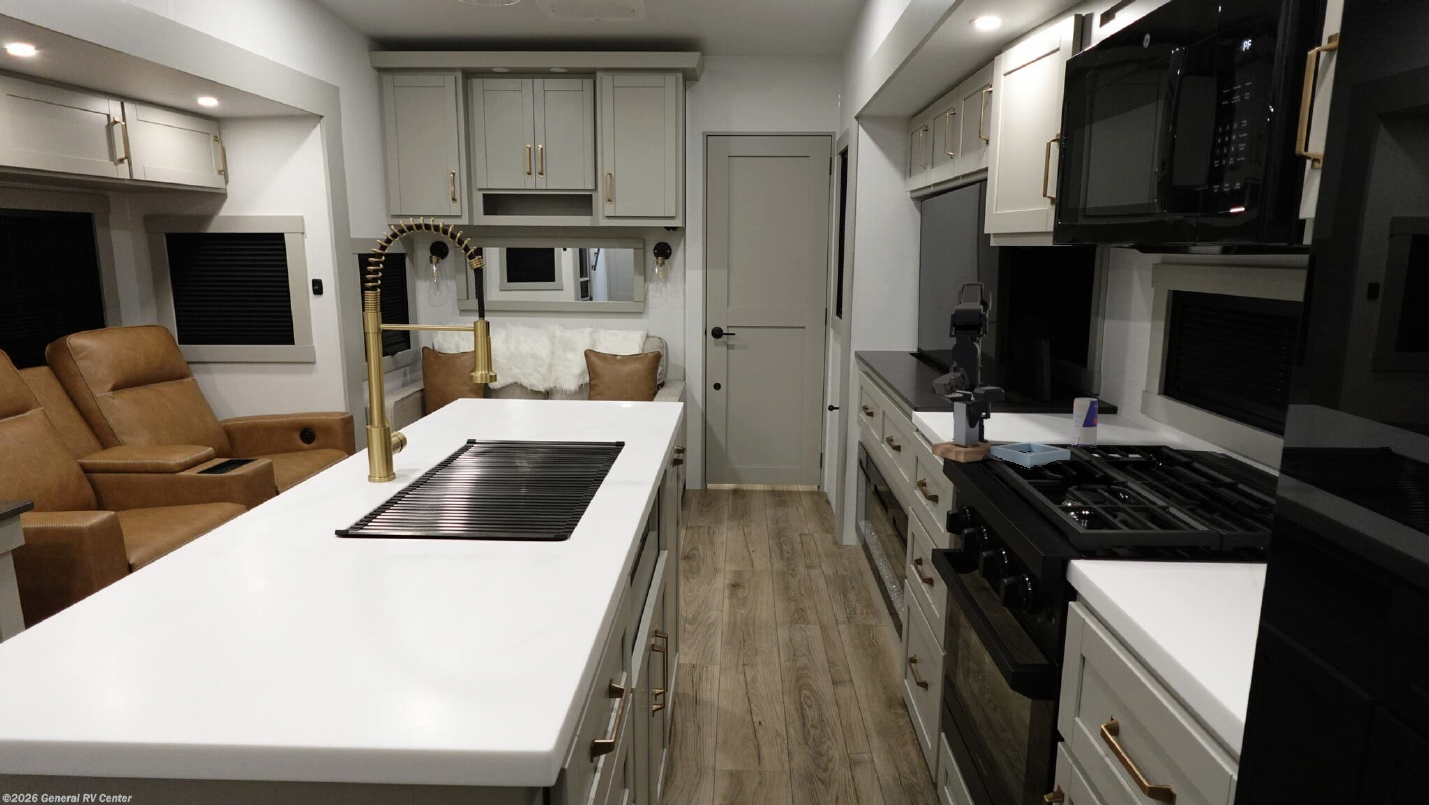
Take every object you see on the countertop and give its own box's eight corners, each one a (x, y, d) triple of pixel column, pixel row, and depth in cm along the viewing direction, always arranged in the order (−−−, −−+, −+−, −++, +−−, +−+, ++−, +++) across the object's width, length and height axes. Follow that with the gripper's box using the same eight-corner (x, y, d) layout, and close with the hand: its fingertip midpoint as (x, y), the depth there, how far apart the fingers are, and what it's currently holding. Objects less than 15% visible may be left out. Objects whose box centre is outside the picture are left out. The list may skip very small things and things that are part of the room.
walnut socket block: (932, 454, 191) (932, 443, 191) (967, 449, 195) (967, 439, 195) (963, 462, 181) (963, 451, 181) (1000, 457, 185) (1000, 446, 185)
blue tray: (990, 459, 184) (990, 446, 183) (1029, 453, 188) (1029, 441, 188) (1029, 469, 173) (1030, 455, 172) (1069, 463, 177) (1070, 450, 177)
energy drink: (1100, 449, 191) (1102, 400, 190) (1077, 449, 192) (1079, 400, 190) (1090, 444, 197) (1092, 397, 195) (1068, 445, 197) (1070, 397, 195)
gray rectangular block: (953, 443, 189) (954, 401, 187) (966, 441, 190) (967, 400, 189) (965, 445, 185) (965, 403, 184) (978, 444, 187) (979, 402, 185)
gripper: (914, 360, 190) (913, 424, 192) (968, 366, 173) (966, 436, 176) (950, 358, 195) (949, 420, 197) (1006, 363, 178) (1005, 431, 180)
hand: (966, 426), depth 187 cm, fingers closed on gray rectangular block, 4 cm apart
